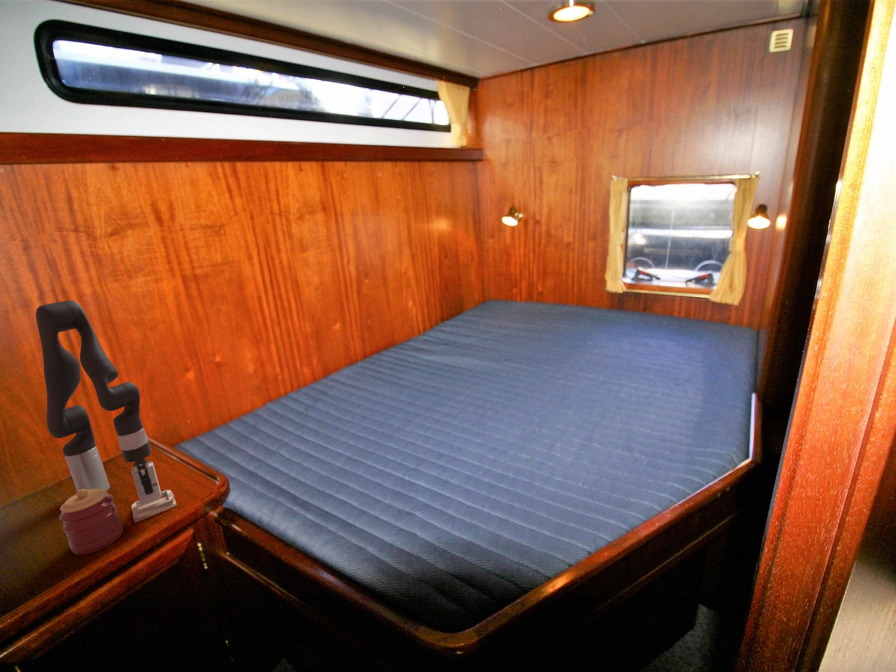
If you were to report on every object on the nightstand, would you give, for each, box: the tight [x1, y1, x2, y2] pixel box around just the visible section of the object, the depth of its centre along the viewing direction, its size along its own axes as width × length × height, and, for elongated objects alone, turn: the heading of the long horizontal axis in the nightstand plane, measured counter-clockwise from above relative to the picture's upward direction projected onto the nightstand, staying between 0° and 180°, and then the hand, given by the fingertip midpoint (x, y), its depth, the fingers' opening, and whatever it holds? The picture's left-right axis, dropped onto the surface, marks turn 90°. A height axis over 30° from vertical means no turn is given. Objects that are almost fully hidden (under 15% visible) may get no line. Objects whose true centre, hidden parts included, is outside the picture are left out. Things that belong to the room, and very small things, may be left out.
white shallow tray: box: [131, 489, 178, 524], centre depth 153 cm, size 10×12×2 cm
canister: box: [58, 489, 124, 556], centre depth 136 cm, size 13×13×18 cm
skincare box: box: [131, 461, 162, 505], centre depth 151 cm, size 6×4×12 cm
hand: (149, 490), depth 151 cm, fingers closed on skincare box, 4 cm apart
